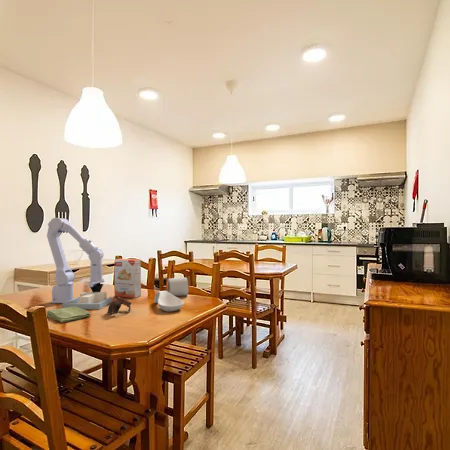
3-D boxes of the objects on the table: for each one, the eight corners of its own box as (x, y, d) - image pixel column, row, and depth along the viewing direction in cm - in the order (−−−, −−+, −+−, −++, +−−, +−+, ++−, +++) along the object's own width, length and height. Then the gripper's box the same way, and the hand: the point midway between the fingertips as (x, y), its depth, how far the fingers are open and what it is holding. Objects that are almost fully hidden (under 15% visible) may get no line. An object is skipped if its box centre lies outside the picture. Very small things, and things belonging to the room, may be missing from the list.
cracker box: (114, 296, 177) (113, 259, 178) (121, 294, 183) (121, 258, 183) (134, 298, 172) (134, 260, 172) (141, 296, 178) (141, 258, 178)
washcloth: (61, 325, 127) (61, 316, 127) (44, 317, 138) (44, 309, 138) (93, 317, 136) (93, 310, 137) (75, 311, 148) (75, 304, 148)
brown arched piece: (108, 312, 146) (117, 295, 149) (126, 320, 146) (135, 304, 149) (101, 311, 135) (111, 293, 137) (121, 321, 135) (131, 303, 137)
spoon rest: (187, 311, 145) (187, 295, 145) (163, 315, 139) (163, 298, 139) (168, 301, 165) (168, 287, 165) (146, 304, 159) (146, 290, 159)
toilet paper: (170, 298, 171) (170, 279, 172) (167, 294, 181) (167, 277, 181) (188, 296, 175) (188, 278, 175) (184, 293, 184) (184, 276, 184)
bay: (61, 309, 150) (61, 304, 150) (77, 301, 166) (77, 296, 166) (99, 309, 150) (99, 303, 150) (112, 301, 165) (112, 296, 165)
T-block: (72, 307, 154) (72, 297, 154) (83, 301, 166) (83, 292, 166) (96, 307, 153) (96, 296, 153) (106, 301, 165) (106, 291, 165)
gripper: (98, 274, 160) (98, 301, 160) (109, 270, 174) (109, 295, 174) (84, 274, 160) (84, 301, 160) (96, 270, 175) (96, 295, 174)
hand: (96, 298), depth 167 cm, fingers closed
